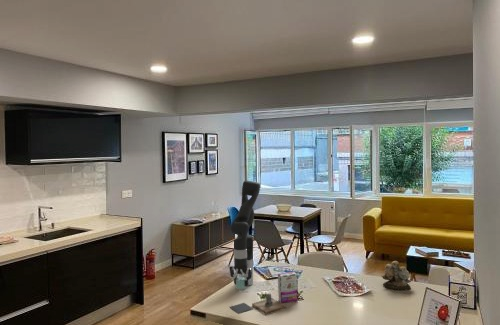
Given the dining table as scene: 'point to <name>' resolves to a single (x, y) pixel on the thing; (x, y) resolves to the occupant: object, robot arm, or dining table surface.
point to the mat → (241, 308)
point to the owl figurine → (396, 277)
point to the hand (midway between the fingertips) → (241, 285)
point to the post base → (268, 305)
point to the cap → (240, 283)
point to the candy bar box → (288, 287)
